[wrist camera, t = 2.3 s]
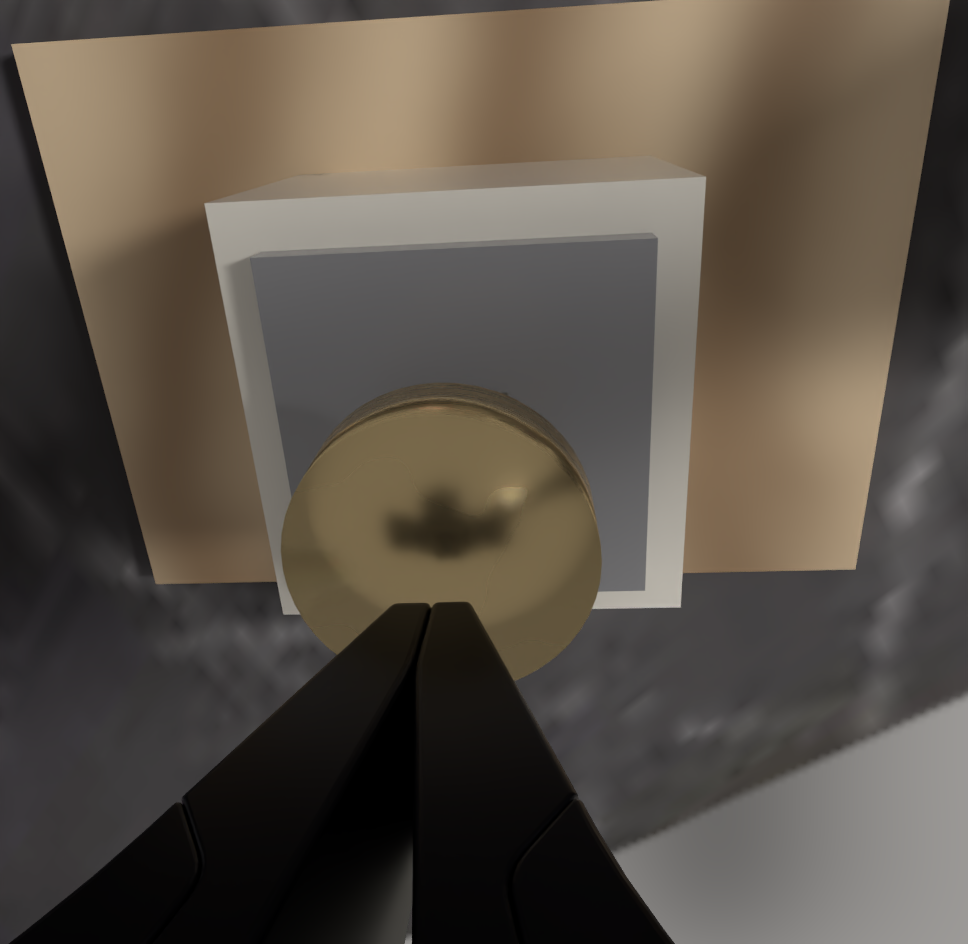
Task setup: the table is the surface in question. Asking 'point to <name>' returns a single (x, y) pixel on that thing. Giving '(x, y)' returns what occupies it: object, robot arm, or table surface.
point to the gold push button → (446, 521)
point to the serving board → (498, 140)
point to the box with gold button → (480, 324)
